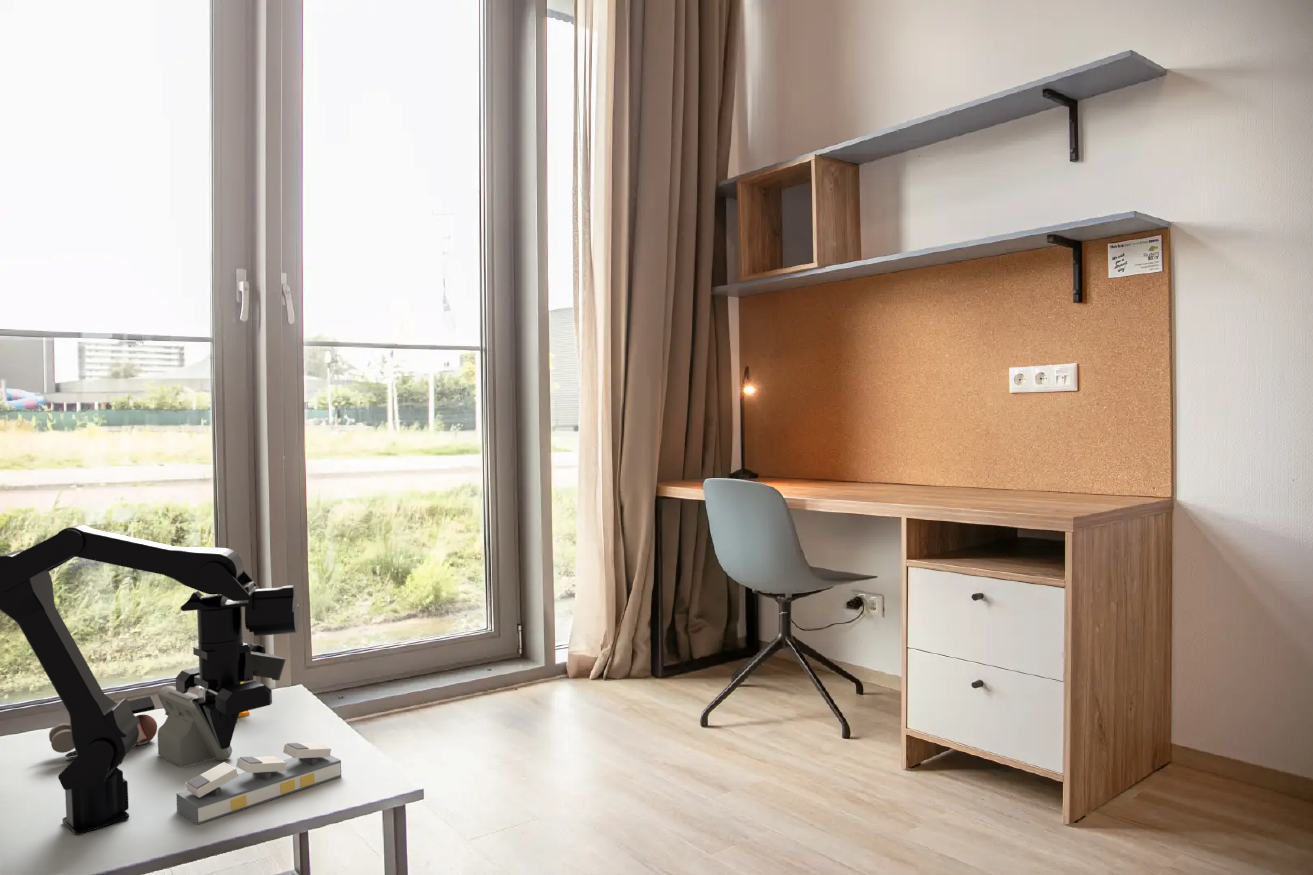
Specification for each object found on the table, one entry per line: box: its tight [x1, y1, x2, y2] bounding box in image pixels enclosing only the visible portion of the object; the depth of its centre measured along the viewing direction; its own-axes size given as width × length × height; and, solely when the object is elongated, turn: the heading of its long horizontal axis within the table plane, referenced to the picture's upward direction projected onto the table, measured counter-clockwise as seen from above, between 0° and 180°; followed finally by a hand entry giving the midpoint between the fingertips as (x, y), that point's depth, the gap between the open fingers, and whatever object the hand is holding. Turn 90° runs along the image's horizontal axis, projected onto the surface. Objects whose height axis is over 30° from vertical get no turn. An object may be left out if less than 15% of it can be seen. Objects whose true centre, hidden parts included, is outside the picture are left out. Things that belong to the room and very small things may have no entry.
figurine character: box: [48, 695, 158, 762], centre depth 152 cm, size 7×8×15 cm
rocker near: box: [185, 761, 239, 798], centre depth 127 cm, size 6×4×1 cm
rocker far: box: [282, 742, 332, 758], centre depth 137 cm, size 6×4×1 cm
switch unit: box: [175, 754, 342, 825], centre depth 132 cm, size 21×7×3 cm, turn 138°
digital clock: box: [157, 685, 233, 768], centre depth 149 cm, size 16×9×11 cm, turn 39°
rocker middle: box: [235, 755, 287, 773], centre depth 132 cm, size 6×4×1 cm
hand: (224, 747), depth 128 cm, fingers closed
